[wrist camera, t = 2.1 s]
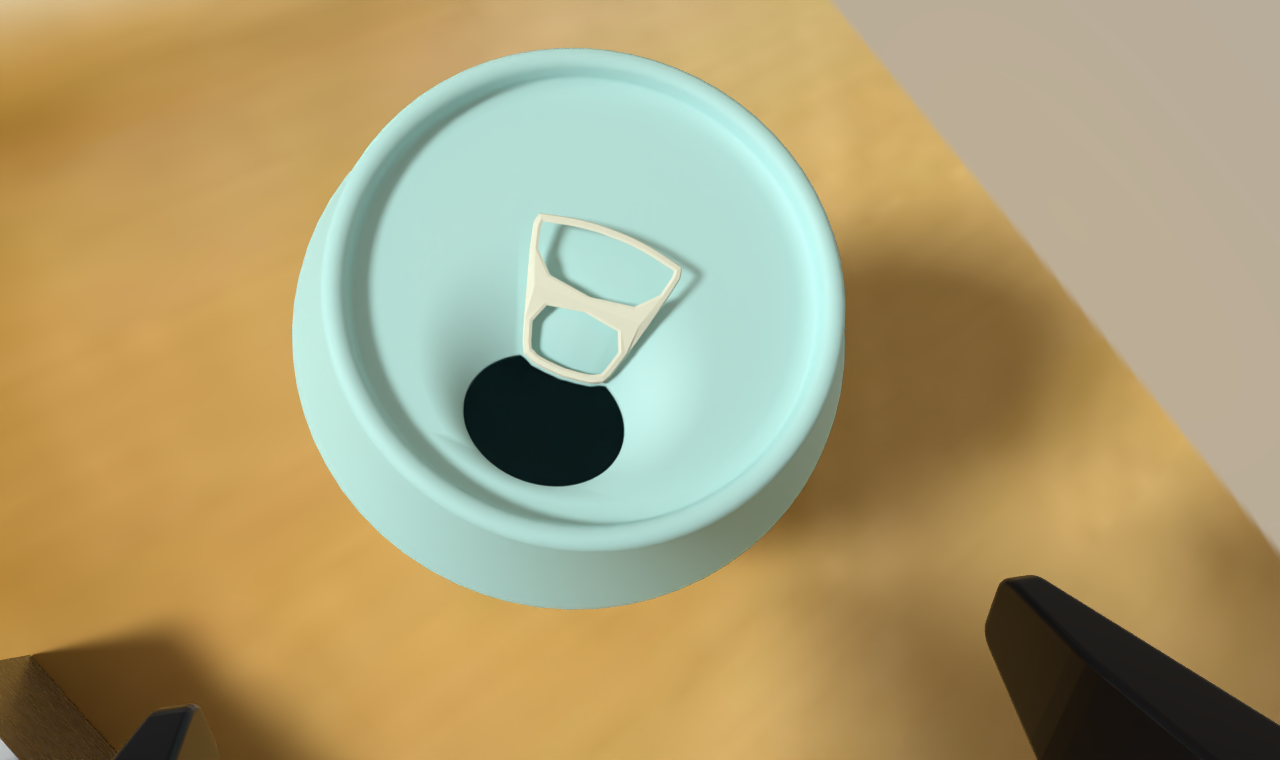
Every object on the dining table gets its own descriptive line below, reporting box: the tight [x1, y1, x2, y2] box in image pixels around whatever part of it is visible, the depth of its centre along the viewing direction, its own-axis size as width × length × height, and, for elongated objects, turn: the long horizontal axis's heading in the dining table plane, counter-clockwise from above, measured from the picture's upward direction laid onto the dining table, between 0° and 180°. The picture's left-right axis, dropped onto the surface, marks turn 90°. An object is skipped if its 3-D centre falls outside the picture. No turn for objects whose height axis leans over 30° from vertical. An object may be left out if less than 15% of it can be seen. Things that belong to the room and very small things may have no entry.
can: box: [292, 48, 846, 609], centre depth 15 cm, size 7×7×12 cm
